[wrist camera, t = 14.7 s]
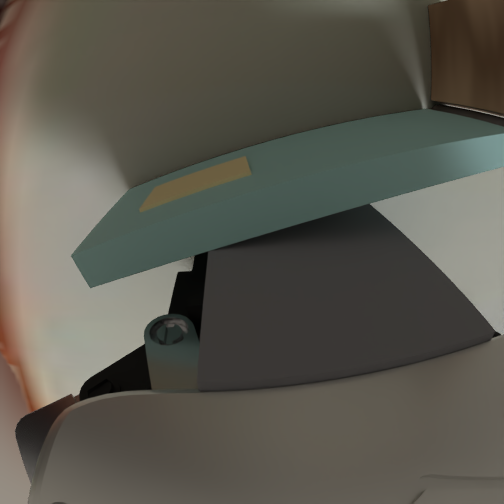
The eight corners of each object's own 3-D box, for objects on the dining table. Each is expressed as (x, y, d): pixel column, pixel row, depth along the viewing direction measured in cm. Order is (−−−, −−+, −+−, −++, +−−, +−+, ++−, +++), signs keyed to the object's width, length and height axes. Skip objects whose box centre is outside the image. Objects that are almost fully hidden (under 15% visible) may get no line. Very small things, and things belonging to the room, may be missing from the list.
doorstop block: (216, 183, 11) (196, 382, 4) (341, 180, 12) (495, 331, 4) (226, 307, 14) (231, 495, 6) (327, 300, 15) (393, 467, 7)
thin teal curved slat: (425, 106, 10) (518, 128, 5) (429, 130, 11) (518, 162, 6) (128, 187, 11) (68, 252, 6) (139, 211, 11) (90, 287, 7)
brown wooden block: (427, 5, 8) (521, -13, 3) (447, 13, 8) (540, 4, 3) (358, 398, 20) (381, 461, 15) (372, 395, 20) (396, 456, 15)
